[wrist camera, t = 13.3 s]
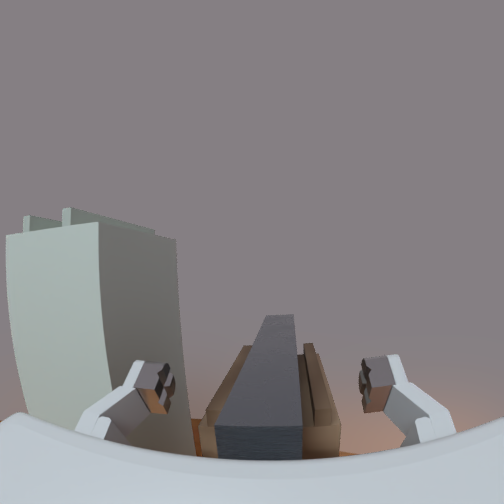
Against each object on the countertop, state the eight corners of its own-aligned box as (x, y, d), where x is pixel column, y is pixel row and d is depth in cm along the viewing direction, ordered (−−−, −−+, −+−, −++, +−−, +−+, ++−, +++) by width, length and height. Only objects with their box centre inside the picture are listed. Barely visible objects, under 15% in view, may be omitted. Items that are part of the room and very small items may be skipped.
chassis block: (225, 571, 13) (195, 409, 14) (248, 482, 26) (238, 345, 26) (321, 572, 12) (342, 407, 13) (315, 481, 25) (318, 342, 26)
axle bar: (221, 485, 9) (214, 425, 9) (267, 341, 31) (266, 315, 32) (301, 487, 8) (302, 425, 8) (294, 340, 31) (293, 314, 31)
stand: (65, 506, 17) (6, 220, 18) (124, 448, 31) (97, 235, 32) (155, 538, 16) (98, 202, 17) (197, 461, 30) (175, 228, 31)
